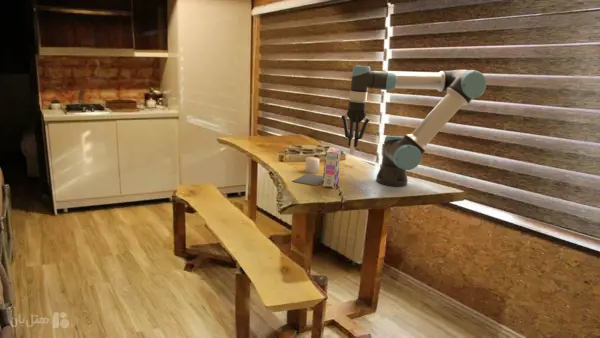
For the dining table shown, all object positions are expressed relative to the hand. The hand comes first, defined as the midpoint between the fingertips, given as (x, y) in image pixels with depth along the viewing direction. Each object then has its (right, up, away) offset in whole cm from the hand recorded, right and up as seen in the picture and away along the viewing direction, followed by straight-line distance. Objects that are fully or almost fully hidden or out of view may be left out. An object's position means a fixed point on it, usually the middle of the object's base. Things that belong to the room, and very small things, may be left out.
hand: (351, 153), depth 209 cm
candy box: (-9, -14, +7) cm, 18 cm away
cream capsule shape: (-17, -8, +28) cm, 34 cm away
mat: (-18, -12, +11) cm, 25 cm away
